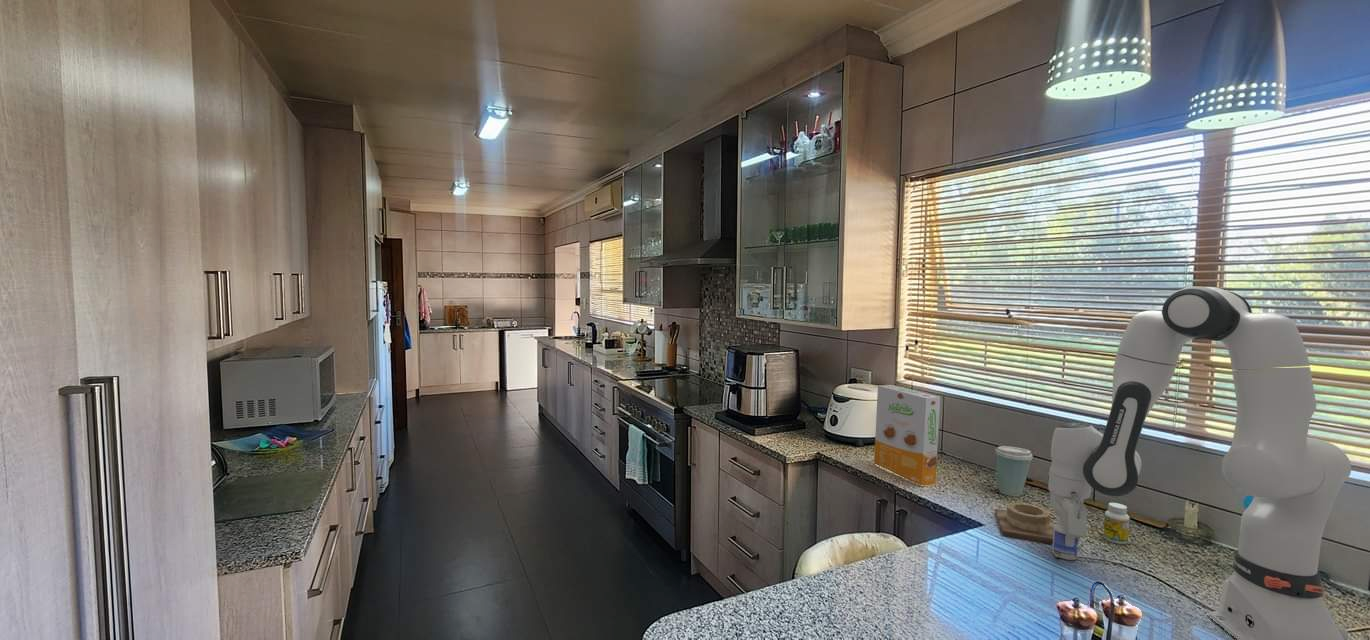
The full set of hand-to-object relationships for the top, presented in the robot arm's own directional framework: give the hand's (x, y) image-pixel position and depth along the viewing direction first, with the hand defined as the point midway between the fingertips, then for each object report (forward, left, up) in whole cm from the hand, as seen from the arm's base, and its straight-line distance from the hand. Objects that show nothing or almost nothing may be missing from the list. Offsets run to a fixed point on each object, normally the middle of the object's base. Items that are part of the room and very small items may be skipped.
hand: (1065, 539), depth 145 cm
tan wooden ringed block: (+14, +6, -4) cm, 16 cm away
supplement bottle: (+16, -15, -4) cm, 22 cm away
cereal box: (+46, +39, -4) cm, 61 cm away
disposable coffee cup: (+43, +6, -4) cm, 44 cm away
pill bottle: (0, 0, -4) cm, 4 cm away
